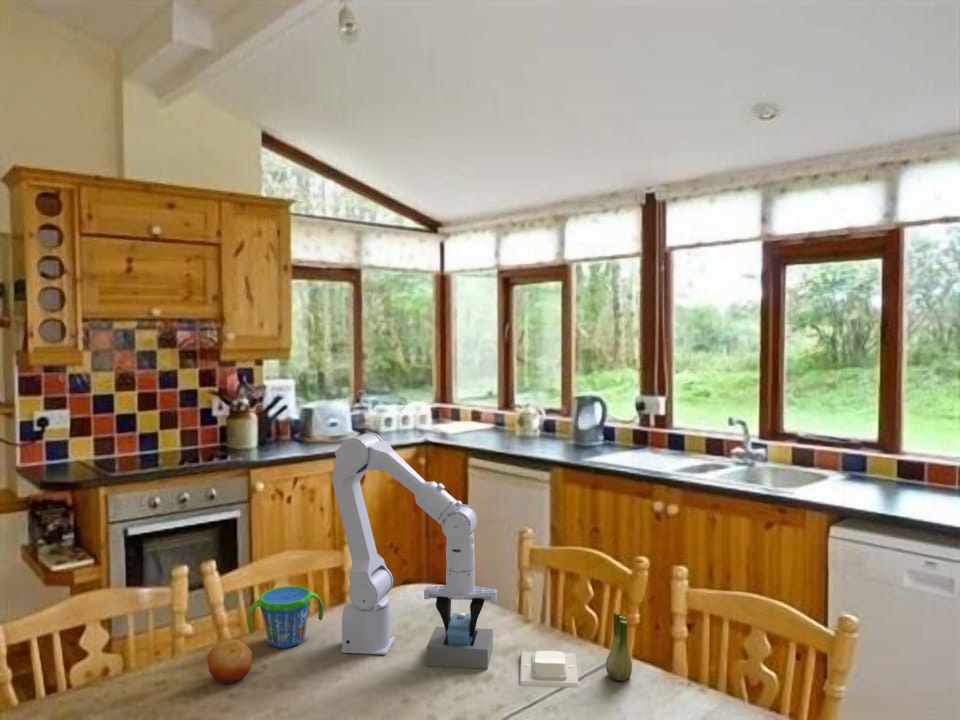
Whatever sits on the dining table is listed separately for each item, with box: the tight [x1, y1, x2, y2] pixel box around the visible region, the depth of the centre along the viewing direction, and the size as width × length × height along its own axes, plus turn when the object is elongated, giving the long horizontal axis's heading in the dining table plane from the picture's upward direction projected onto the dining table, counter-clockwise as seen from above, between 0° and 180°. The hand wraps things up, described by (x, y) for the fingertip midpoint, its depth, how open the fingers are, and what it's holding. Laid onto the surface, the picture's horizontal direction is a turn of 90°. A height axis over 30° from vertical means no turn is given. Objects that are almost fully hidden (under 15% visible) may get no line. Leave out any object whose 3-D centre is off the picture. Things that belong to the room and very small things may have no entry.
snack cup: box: [246, 585, 324, 649], centre depth 156 cm, size 16×10×10 cm
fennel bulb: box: [605, 610, 633, 682], centre depth 139 cm, size 6×5×12 cm
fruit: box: [206, 638, 253, 685], centre depth 140 cm, size 8×8×8 cm
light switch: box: [519, 650, 580, 688], centre depth 142 cm, size 11×4×13 cm
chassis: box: [426, 625, 494, 670], centre depth 149 cm, size 12×10×4 cm
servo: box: [447, 612, 472, 646], centre depth 149 cm, size 4×10×6 cm, turn 173°
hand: (460, 634), depth 149 cm, fingers open, 4 cm apart
